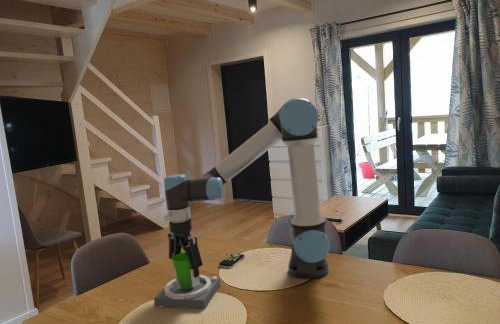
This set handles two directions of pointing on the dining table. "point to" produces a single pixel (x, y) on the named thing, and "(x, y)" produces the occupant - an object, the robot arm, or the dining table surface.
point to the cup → (182, 270)
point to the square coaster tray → (188, 294)
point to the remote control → (231, 260)
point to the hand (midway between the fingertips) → (187, 281)
